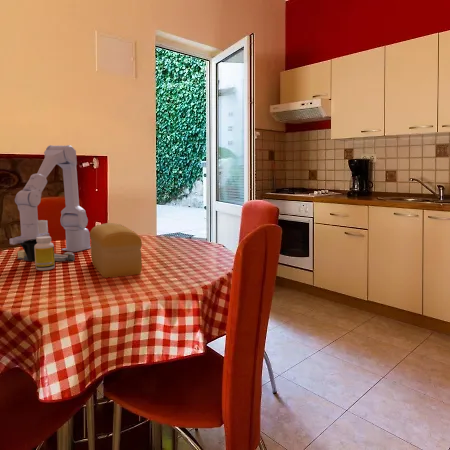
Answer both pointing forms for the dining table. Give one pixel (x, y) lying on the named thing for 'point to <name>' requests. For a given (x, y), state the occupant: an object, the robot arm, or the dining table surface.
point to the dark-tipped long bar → (69, 257)
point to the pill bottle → (44, 253)
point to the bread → (115, 250)
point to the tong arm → (56, 257)
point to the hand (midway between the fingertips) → (31, 260)
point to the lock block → (21, 253)
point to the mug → (42, 226)
